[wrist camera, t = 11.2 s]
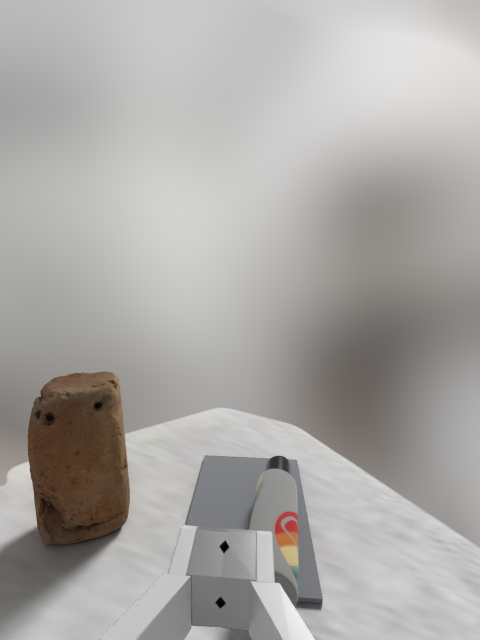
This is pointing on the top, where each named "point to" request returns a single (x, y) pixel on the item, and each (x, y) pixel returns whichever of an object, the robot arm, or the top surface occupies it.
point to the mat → (249, 509)
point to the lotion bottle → (279, 521)
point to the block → (79, 458)
